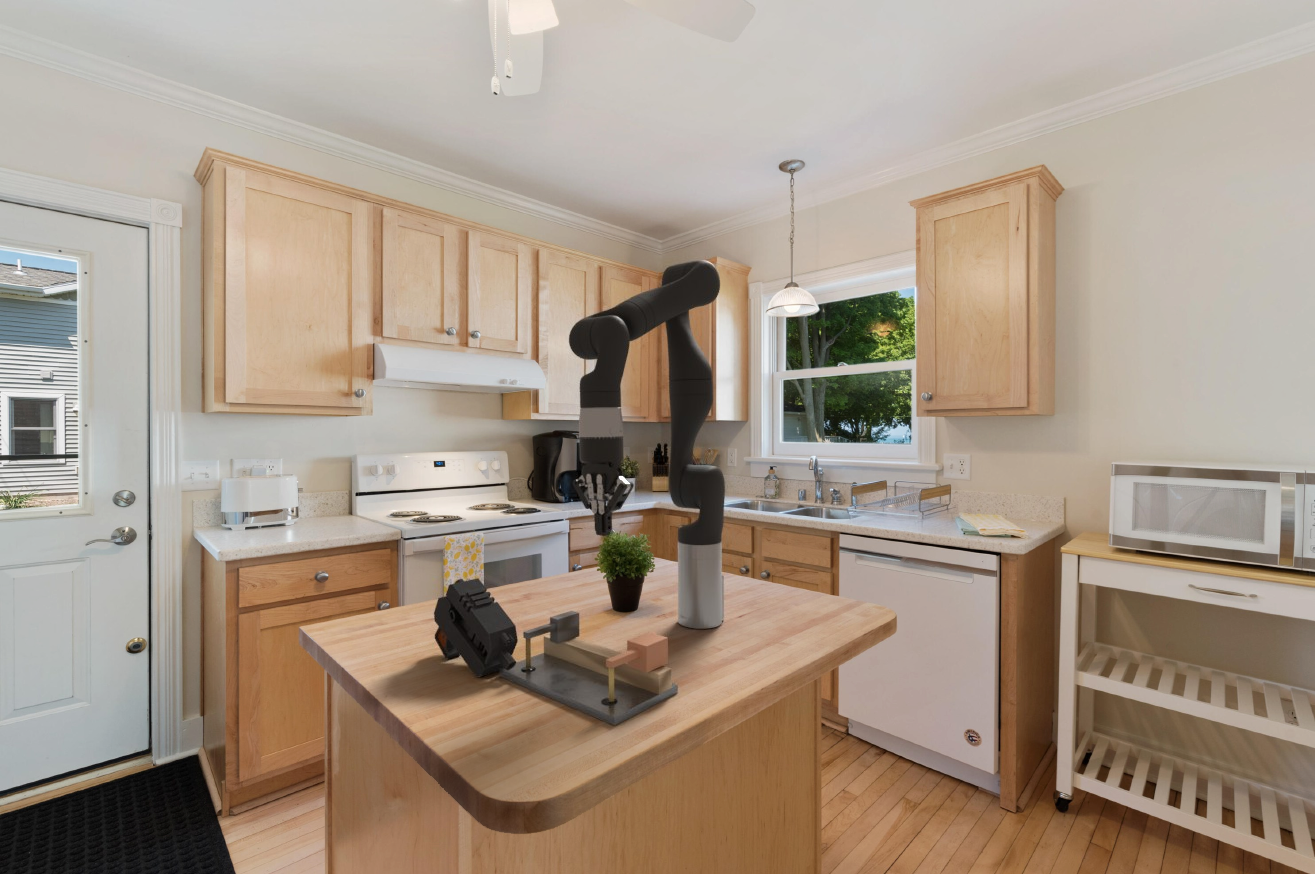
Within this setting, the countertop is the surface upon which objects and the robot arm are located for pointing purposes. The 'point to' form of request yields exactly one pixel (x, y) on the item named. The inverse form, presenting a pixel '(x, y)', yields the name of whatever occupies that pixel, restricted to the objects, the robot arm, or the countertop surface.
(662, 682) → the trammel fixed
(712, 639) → the countertop surface
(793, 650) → the countertop surface
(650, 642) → the slider leg
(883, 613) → the countertop surface
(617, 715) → the hole plate
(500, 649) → the tool
